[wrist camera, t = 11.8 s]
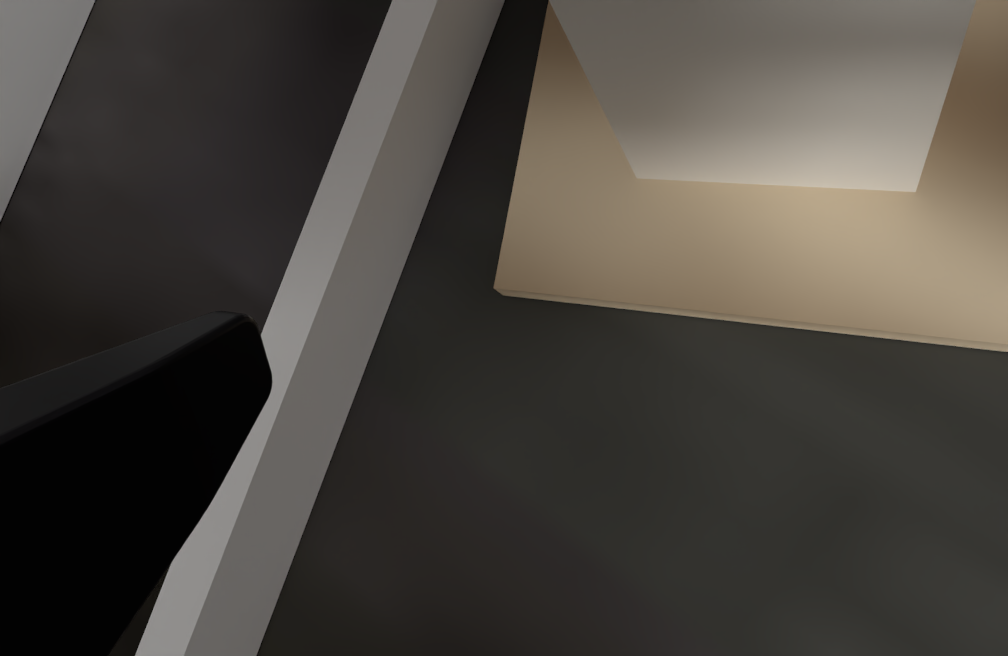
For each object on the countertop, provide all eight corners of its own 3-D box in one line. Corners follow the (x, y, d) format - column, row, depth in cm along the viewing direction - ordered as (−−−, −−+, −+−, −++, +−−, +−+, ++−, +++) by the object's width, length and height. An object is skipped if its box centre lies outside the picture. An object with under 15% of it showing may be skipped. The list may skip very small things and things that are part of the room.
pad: (1055, 357, 15) (1065, 350, 14) (503, 295, 18) (493, 287, 18) (1099, -167, 16) (1109, -191, 16) (583, -131, 20) (577, -150, 19)
